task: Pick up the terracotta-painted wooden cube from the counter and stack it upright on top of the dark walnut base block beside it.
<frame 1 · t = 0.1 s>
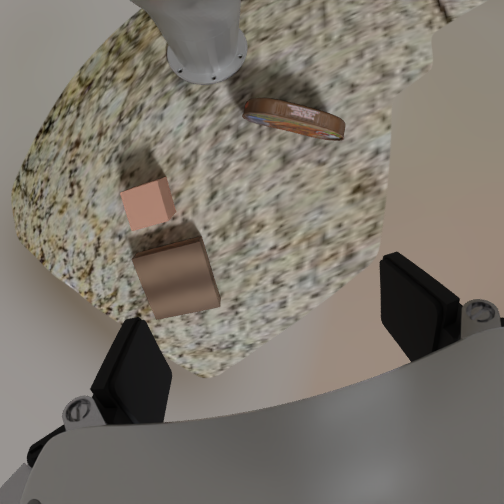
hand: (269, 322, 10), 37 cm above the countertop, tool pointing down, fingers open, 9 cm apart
base: (178, 276, 49), on the countertop
tin: (289, 122, 42), on the countertop
cube: (154, 199, 44), on the countertop
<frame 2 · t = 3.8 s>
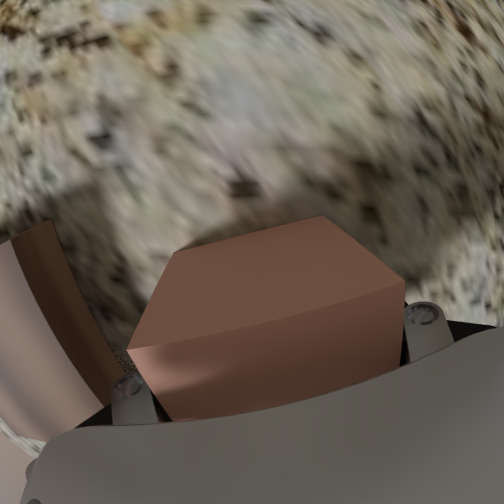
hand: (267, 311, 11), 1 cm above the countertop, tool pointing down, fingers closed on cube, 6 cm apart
base: (29, 345, 12), on the countertop
cube: (264, 300, 12), on the countertop, touching gripper
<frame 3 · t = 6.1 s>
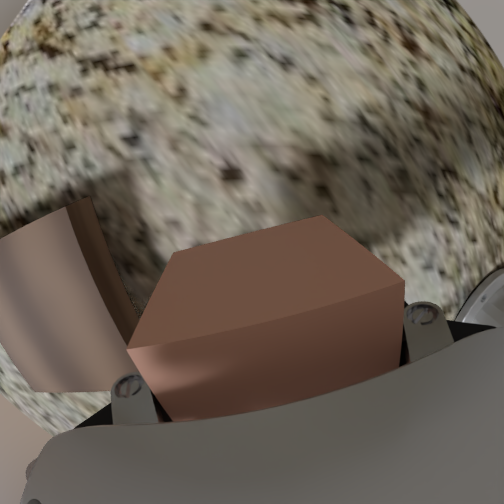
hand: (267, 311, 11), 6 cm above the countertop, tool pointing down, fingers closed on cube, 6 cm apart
base: (58, 303, 17), on the countertop
cube: (264, 299, 12), point 5 cm above the countertop, touching gripper
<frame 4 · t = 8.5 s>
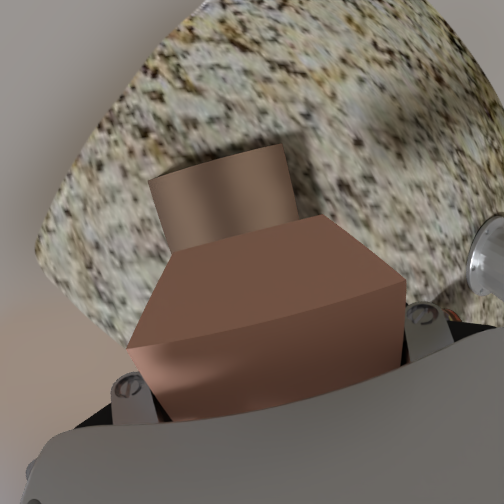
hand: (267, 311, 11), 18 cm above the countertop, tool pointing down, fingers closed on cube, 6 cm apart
base: (231, 218, 28), on the countertop
cube: (265, 299, 12), point 17 cm above the countertop, touching gripper
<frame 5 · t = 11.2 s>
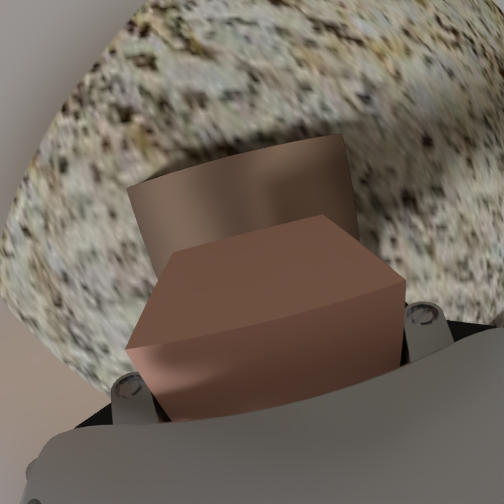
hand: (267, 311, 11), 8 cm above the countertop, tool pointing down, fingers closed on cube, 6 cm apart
base: (255, 244, 19), on the countertop
cube: (264, 299, 12), point 7 cm above the countertop, touching gripper
when the fingers open (5 cm above the countertop, at t = 13.3 s): cube stays where it is, resting on base.
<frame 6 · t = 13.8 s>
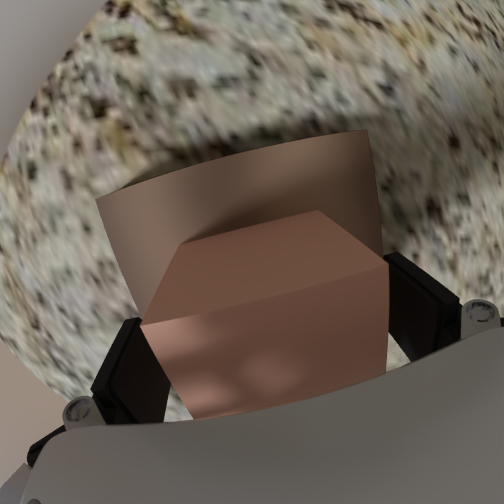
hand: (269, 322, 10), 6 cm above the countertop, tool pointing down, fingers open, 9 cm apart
base: (256, 264, 16), on the countertop
cube: (264, 289, 13), point 3 cm above the countertop, touching base
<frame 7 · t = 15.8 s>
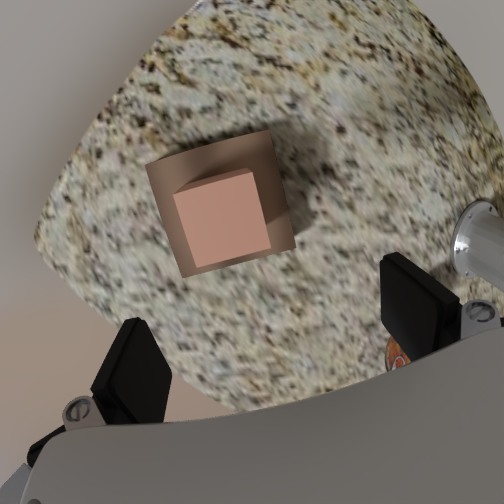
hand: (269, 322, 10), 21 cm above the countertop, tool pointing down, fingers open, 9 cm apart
base: (222, 200, 30), on the countertop
tin: (402, 322, 38), on the countertop
cube: (223, 206, 27), point 3 cm above the countertop, touching base
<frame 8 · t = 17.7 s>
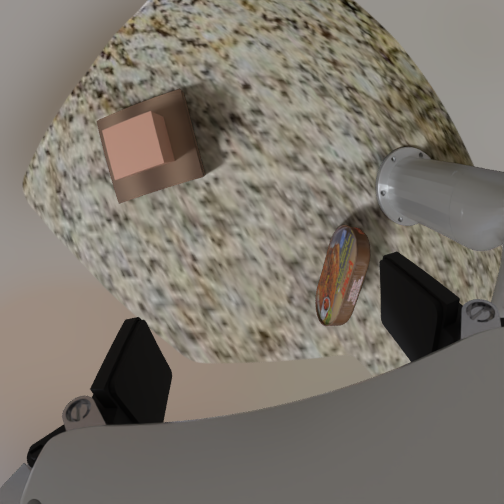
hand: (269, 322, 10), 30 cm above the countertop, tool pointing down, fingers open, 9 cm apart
base: (152, 146, 36), on the countertop
tin: (331, 265, 44), on the countertop
cube: (147, 146, 33), point 3 cm above the countertop, touching base
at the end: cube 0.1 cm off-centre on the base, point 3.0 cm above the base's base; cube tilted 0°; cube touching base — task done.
